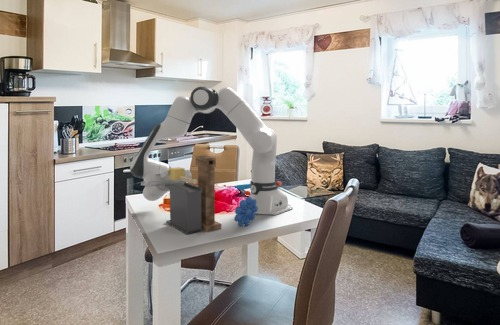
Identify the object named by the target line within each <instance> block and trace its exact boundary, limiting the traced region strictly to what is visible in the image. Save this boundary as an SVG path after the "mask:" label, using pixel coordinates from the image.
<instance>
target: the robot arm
mask: <svg viewBox="0 0 500 325" xmlns="http://www.w3.org/2000/svg"><path fill="white" fill-rule="evenodd" d="M216 109H219V111H221V112H222V113H223V114H224V115H225V116H226V117H227V118H228V119H229V121H230V122H231V123H232V124H233V125H234V126H235V128H236V129H238V132H239V133H240V134H241V135H242V137H243V138H244V139H245V141H246V142H247V143H248V145H249V146H250V148H251V149H252V157H251V158H252V160H251V173H250V174H251V177H250V179H251V180H250V183H249V184H250V188H249V189H250V193H251V194H250V196H249V197H251V198H252V199H255V200H256V201H257V203H256V206H257V207H258V210H257V212H255V215H270V216H272V215H273V216H277V215H279V214H282V213H284V212H288V211H291V210H293V208H294V207H293V205H291V204H289V199H288V195H287V194H285V193H284V192H283V191H281V190H280V189H279V188H278V187H281V186H282V184H283V183H282V181H279V180H278V181H276V160H277V159H276V158H277V143H278V137H277V136H278V135H277V134H276V132H275V131H274V129H273V128H270V127H267V126H266V124H265V123H264V122H263V121H262V120H261V118H260V117H259V115H258V114H257V112H255V110H254V109H253V108H252V107H251V106H250V105H249V103H248V102H247V101H245V99H244V98H243V97H242V96H241V95H240V94H239V93H237V92H236V90H234V89H233V88H231V87H228V86H225V87H222V88H220V89H219V90H218V91H217V90H216V89H212V88H210V87H207V86H198V87H196V88H194V89H192V91H191V93H190V97H189V96H187V95H179V96H177V97H176V98H175V99H174V101H173V102H172V104H171V106H170V107H169V110H168V112H167V115H166V117H165V119H164V120H163V121H162V122H161V123H158V124H156V125H155V126H153V128H152V130H151V131H150V132H149V134H148V136H147V137H146V139H145V141H144V143H143V144H142V146H141V148H140V149H139V151H138V153H137V154H136V155H135V157H134V158H133V159H132V160H131V163H130V167H129V171H130V174H132V176H133V177H134V178H139V179H143V181H141V183H140V186H144V188H143V190H142V196H143V197H144V198H145V200H147V201H149V202H150V201H151V202H155V201H158V200H159V199H161V198H162V197H163V196H164V195H166V194H167V193H168V192H169V193H170V189H169V188H166V187H165V185H168V184H175V183H182V184H184V181H180V180H171V179H169V175H170V170H169V168H172V167H171V166H170V164H168V163H165V162H162V161H159V160H157V159H153V158H150V157H149V155H150V154H151V152H152V150H153V148H154V146H155V145H156V144H157V142H159V141H160V140H165V139H169V140H170V139H178V138H181V137H183V136H185V135H186V133H187V132H188V129H189V127H190V125H191V122H192V119H193V117H194V116H195V114H202V115H208V114H212V113H213V112H215V111H216ZM185 177H187V178H192V173H191V171H190V169H185Z"/></svg>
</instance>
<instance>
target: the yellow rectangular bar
mask: <svg viewBox="0 0 500 325" xmlns="http://www.w3.org/2000/svg"><path fill="white" fill-rule="evenodd" d="M169 170H170V175H169V179H171V180H180V181H184V182H186V183H189V184H192V185H196V184H198V179H196V178H192V177H191V178H187V177H185V170H186V169H185V168H184V167H171V168H169Z"/></svg>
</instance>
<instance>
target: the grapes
mask: <svg viewBox="0 0 500 325" xmlns="http://www.w3.org/2000/svg"><path fill="white" fill-rule="evenodd" d="M256 203H257V201H256V200H255V199H252V198H251V197H250V196H249V197H246V198H245V199H241V200H240V201H239V205H238V206H236V208H235V210H234V213H235V214H236V215H235V216H234V221H235V222H236V223H237V225H238V226H239V227H243V226H246V227H247V226H249V225H250V224H251V221H253V220H255V218H256V214H255V212H257V210H258V207H257V206H256Z"/></svg>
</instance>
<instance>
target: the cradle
mask: <svg viewBox="0 0 500 325" xmlns="http://www.w3.org/2000/svg"><path fill="white" fill-rule="evenodd" d="M165 187H166V188H169V189H170V191H169V213H170V214H169V215H170V216H169V217H170V219H168V220H165V223H166V225H169V226H171V227H172V228H174V229H176V230H178V231H179V232H181V233H183V234H185V235H190V234H196V233H199V232H204V231H203V229H202V228H201V193H202V188H201V187H198V185H196V184H192V183H188V182H184V184H182V183H175V184H168V185H165Z"/></svg>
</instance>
